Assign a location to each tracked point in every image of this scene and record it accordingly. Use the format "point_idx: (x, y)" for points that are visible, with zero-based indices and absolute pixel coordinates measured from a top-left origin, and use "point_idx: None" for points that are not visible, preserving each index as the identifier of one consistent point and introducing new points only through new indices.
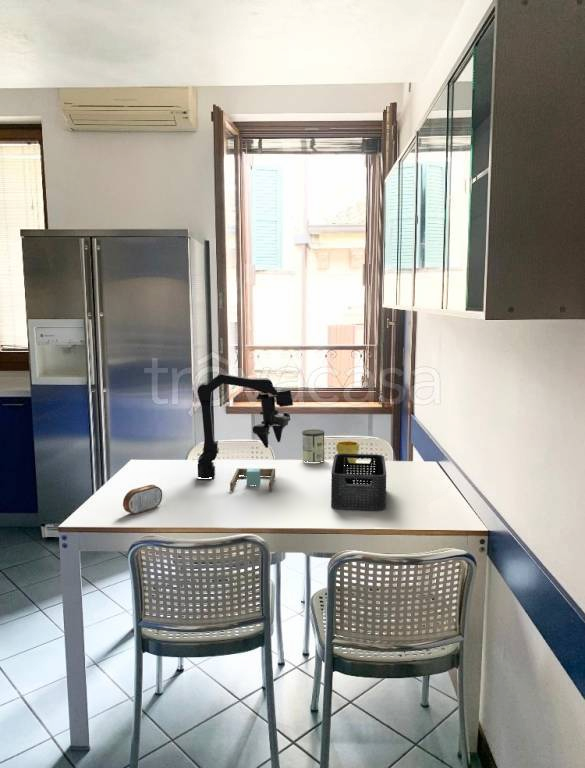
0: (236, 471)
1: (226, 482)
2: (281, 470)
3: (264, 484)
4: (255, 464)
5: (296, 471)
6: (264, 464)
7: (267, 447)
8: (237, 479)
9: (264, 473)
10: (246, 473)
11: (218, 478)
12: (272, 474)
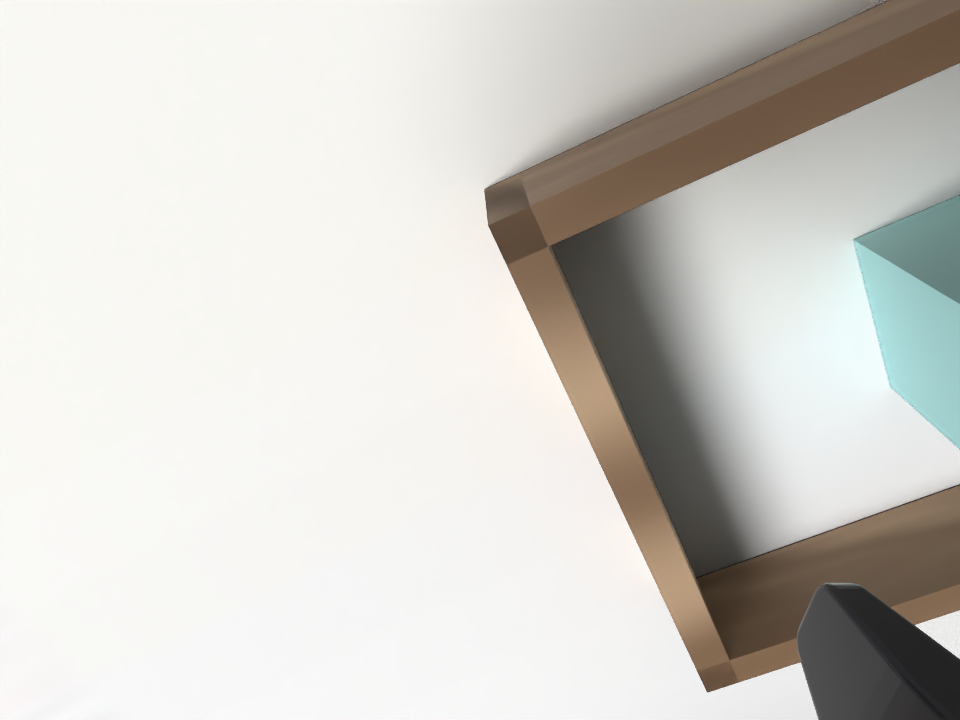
0: None
1: None
2: (124, 274)
3: (937, 132)
4: (107, 683)
5: (3, 4)
6: (30, 605)
7: (862, 588)
8: (896, 528)
9: (591, 341)
10: (681, 546)
11: (814, 717)
12: (905, 61)
